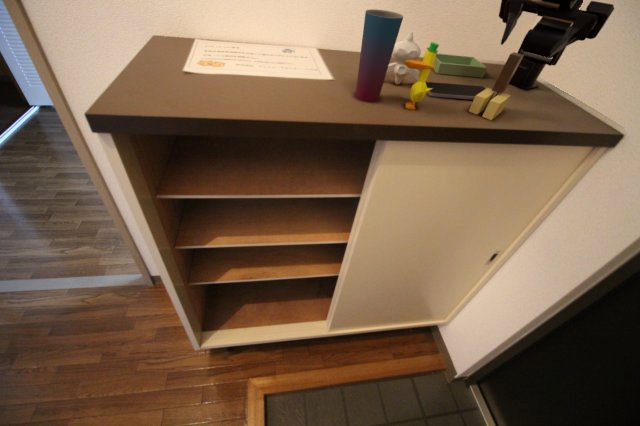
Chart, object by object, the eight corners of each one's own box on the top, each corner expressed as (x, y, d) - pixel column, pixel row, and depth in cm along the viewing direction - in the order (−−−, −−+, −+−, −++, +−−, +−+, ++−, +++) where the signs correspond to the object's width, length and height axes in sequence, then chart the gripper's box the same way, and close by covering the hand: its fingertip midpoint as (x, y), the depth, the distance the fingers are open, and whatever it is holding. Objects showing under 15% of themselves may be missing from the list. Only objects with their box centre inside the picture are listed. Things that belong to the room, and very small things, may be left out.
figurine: (372, 84, 67) (384, 30, 59) (372, 77, 70) (383, 25, 63) (423, 91, 66) (441, 38, 59) (420, 84, 70) (437, 32, 62)
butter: (479, 103, 65) (487, 87, 62) (501, 111, 63) (510, 95, 60) (468, 111, 61) (475, 95, 58) (491, 120, 59) (500, 103, 56)
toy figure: (393, 108, 58) (412, 42, 50) (392, 101, 61) (410, 37, 52) (426, 112, 58) (450, 47, 50) (423, 105, 61) (446, 42, 52)
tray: (469, 66, 85) (473, 57, 83) (482, 77, 78) (487, 67, 76) (427, 62, 84) (430, 52, 82) (436, 73, 77) (440, 63, 75)
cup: (381, 106, 59) (403, 20, 48) (349, 100, 59) (364, 14, 49) (383, 93, 63) (403, 13, 53) (353, 88, 64) (367, 7, 53)
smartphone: (422, 81, 69) (483, 86, 70) (421, 86, 70) (481, 90, 70) (430, 93, 64) (495, 98, 64) (428, 98, 65) (493, 102, 65)
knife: (486, 105, 64) (514, 51, 56) (495, 108, 63) (524, 54, 56) (481, 109, 62) (509, 54, 55) (490, 112, 62) (520, 57, 54)
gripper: (534, -69, 53) (483, 6, 54) (659, -58, 45) (595, 30, 46) (520, -16, 63) (478, 47, 64) (621, 1, 55) (570, 72, 56)
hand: (524, 49), depth 57 cm, fingers open, 9 cm apart
